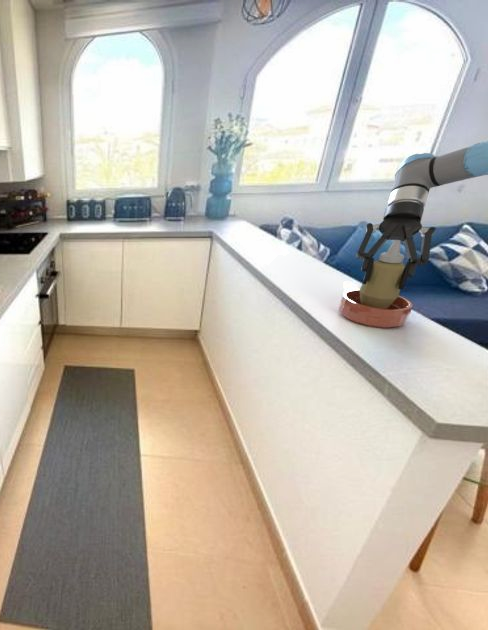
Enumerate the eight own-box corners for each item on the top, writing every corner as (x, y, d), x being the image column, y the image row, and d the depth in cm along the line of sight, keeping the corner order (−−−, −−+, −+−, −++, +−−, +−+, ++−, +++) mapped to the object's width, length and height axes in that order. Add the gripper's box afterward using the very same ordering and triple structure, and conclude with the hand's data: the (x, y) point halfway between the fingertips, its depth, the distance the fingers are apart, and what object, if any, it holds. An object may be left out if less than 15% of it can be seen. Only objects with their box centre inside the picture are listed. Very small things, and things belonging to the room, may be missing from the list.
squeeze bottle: (366, 297, 99) (388, 234, 91) (400, 307, 92) (427, 241, 84) (348, 303, 96) (369, 239, 88) (382, 314, 89) (408, 246, 81)
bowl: (418, 323, 91) (426, 304, 88) (379, 334, 87) (386, 314, 85) (362, 302, 103) (368, 285, 101) (325, 311, 100) (330, 294, 97)
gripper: (451, 219, 89) (430, 298, 85) (356, 214, 101) (334, 283, 97) (463, 201, 83) (441, 285, 79) (360, 198, 95) (338, 271, 91)
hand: (383, 284), depth 88 cm, fingers closed on squeeze bottle, 6 cm apart
